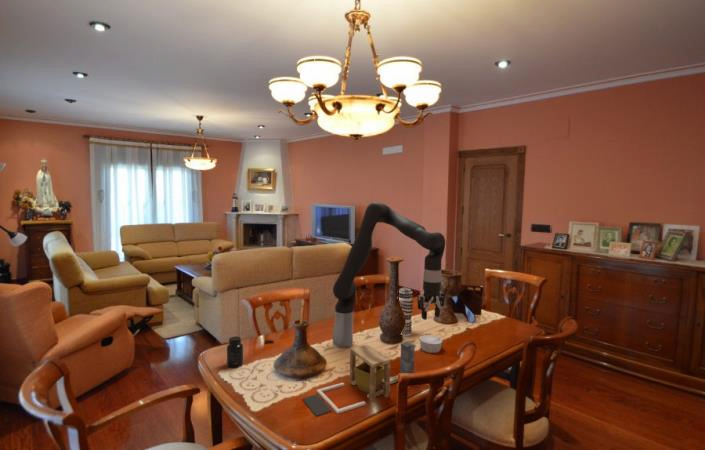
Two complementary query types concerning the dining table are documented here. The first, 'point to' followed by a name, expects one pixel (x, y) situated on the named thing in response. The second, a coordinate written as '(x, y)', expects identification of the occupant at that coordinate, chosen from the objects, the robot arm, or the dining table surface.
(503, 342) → the dining table surface
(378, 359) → the oak bridge
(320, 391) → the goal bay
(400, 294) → the striped vase
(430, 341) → the ramekin
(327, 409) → the mat
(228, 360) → the supplement bottle
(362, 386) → the flower pot
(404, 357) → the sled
